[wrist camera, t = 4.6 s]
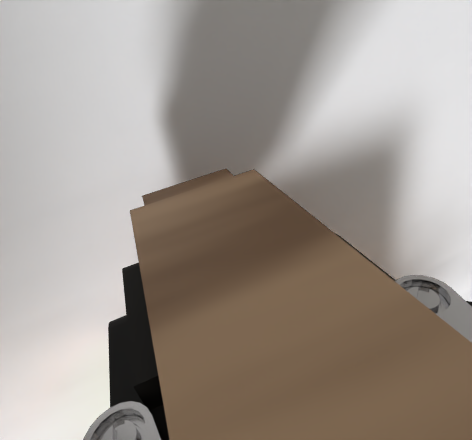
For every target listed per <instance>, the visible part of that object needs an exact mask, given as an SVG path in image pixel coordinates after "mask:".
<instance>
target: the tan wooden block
mask: <svg viewBox="0 0 472 440" xmlns="http://www.w3.org/2000/svg"><path fill="white" fill-rule="evenodd" d="M142 197H143V201H144V205H145V206H142V207H139V208H136V209H133V210H130V214H131V220H132V225H133V231H134V237H135V243H136V249H137V254H138V260H139V266H140V272H141V277H142V283H143V289H144V295H145V301H146V306H147V312H148V318H149V324H150V329H151V335H152V341H153V347H154V353H155V358H156V364H157V370H158V376H159V381H160V387H161V393H162V399H163V405H164V410H165V416H166V422H167V428H168V434H169V439H170V440H472V343H471V342H470V341H469V340H468V339H466V338H465V337H464V336H463V335H461V334H460V333H459V332H458V331H456V330H455V329H454V328H453V327H451V326H450V325H449V324H448V323H446V322H445V321H444V320H443V319H441V318H440V317H439V316H438V315H436V314H435V313H434V312H433V311H431V310H430V309H429V308H428V307H426V306H425V305H424V304H423V303H421V302H420V301H419V300H417V299H416V298H415V297H414V296H412V295H411V294H410V293H409V292H407V291H406V290H405V289H404V288H402V287H401V286H400V285H399V284H397V283H396V282H395V281H394V280H392V279H391V278H390V277H389V276H387V275H386V274H385V273H384V272H382V271H381V270H380V269H379V268H377V267H376V266H375V265H374V264H372V263H371V262H370V261H369V260H367V259H366V258H365V257H364V256H362V255H361V254H360V253H359V252H357V251H356V250H355V249H353V248H352V247H351V246H350V245H348V244H347V243H346V242H345V241H343V240H342V239H341V238H340V237H338V236H337V235H336V234H335V233H333V232H332V231H331V230H330V229H328V228H327V227H326V226H325V225H323V224H322V223H321V222H320V221H318V220H317V219H316V218H315V217H313V216H312V215H311V214H310V213H308V212H307V211H306V210H305V209H303V208H302V207H301V206H300V205H298V204H297V203H296V202H295V201H293V200H292V199H291V198H289V197H288V196H287V195H286V194H284V193H283V192H282V191H281V190H279V189H278V188H277V187H276V186H274V185H273V184H272V183H271V182H269V181H268V180H267V179H266V178H264V177H263V176H262V175H261V174H259V173H258V172H257V171H256V170H254V169H253V170H250V171H247V172H244V173H241V174H238V175H235V176H233V175H232V174H231V173H230V172H229V171H228V170H227V169H223V170H220V171H217V172H214V173H211V174H208V175H204V176H201V177H198V178H195V179H192V180H189V181H186V182H183V183H180V184H177V185H174V186H171V187H168V188H165V189H162V190H159V191H155V192H152V193H149V194H146V195H143V196H142Z"/></svg>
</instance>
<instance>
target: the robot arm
mask: <svg viewBox="0 0 472 440" xmlns="http://www.w3.org/2000/svg"><path fill="white" fill-rule="evenodd" d="M336 235H337V234H336ZM337 236H338V237H340V236H339V235H337ZM340 238H341V237H340ZM341 239H342V240H343V241H345V240H344V239H343V238H341ZM345 242H346V243H347V244H348V245H350V244H349V243H348V242H347V241H345ZM350 246H351V247H352V248H353V249H355V248H354V247H353V246H352V245H350ZM355 250H356V251H357V252H359V251H358V250H357V249H355ZM359 253H360V252H359ZM360 254H361V255H362V256H364V255H363V254H362V253H360ZM364 257H365V256H364ZM365 258H366V259H367V260H369V259H368V258H367V257H365ZM369 261H370V262H371V263H372V264H374V263H373V262H372V261H371V260H369ZM374 265H375V266H376V267H377V268H379V267H378V266H377V265H376V264H374ZM379 269H380V270H381V271H382V272H384V271H383V270H382V269H381V268H379ZM122 272H123V282H124V293H125V304H126V314H127V315H126V316H124V317H121V318H118V319H116V320H113V321H111V322H110V323H109V328H108V331H109V372H110V408H109V409H108V410H106V411H105V412H104V413H103V414H101V415H100V416H99V417H98V418H97V419H96V420H95V422H94V423H93V424H92V425H91V426H90V428H89V430H88V431H87V433H86V435H85V437H84V439H83V440H170V439H169V434H168V428H167V422H166V416H165V410H164V405H163V399H162V393H161V387H160V381H159V376H158V370H157V364H156V358H155V353H154V347H153V341H152V335H151V329H150V324H149V318H148V312H147V306H146V301H145V295H144V289H143V283H142V277H141V272H140V266H139V263H136V264H134V265H131V266H128V267H125V268H123V269H122ZM384 273H385V274H386V275H387V276H389V275H388V274H387V273H386V272H384ZM389 277H390V278H391V279H392V280H394V279H393V278H392V277H391V276H389ZM394 281H395V282H396V283H397V284H399V285H400V286H401V287H402V288H404V289H405V290H406V291H407V292H409V293H410V294H411V295H412V296H414V297H415V298H416V299H417V300H419V301H420V302H421V303H423V304H424V305H425V306H426V307H428V308H429V309H430V310H431V311H433V312H434V313H435V314H436V315H438V316H439V317H440V318H441V319H443V320H444V321H445V322H446V323H448V324H449V325H450V326H451V327H453V328H454V329H455V330H456V331H458V332H459V333H460V334H461V335H463V336H464V337H465V338H466V339H468V340H469V341H470V342H471V343H472V302H469V301H465V300H464V299H463V298H462V297H461V296H460V295H458V294H457V293H456V292H455V291H454V290H453V289H452V288H451V287H449V286H448V285H447V284H445V283H444V282H442V281H440V280H437V279H435V278H432V277H428V276H423V275H410V276H404V277H402V278H399V279H397V280H394Z"/></svg>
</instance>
